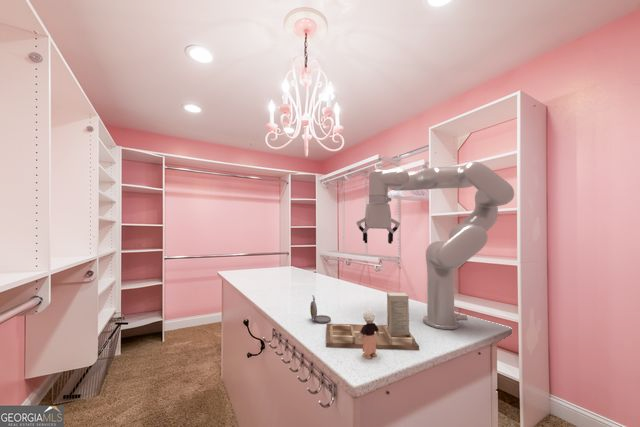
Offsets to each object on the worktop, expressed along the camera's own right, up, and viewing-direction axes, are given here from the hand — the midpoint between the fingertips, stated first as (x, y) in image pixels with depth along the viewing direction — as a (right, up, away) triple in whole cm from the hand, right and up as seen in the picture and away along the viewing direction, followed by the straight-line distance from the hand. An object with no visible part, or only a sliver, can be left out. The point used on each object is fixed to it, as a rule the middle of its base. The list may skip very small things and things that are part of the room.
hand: (377, 243), depth 106 cm
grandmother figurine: (-9, -29, -31) cm, 43 cm away
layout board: (-7, -29, -18) cm, 35 cm away
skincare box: (+2, -26, -21) cm, 34 cm away
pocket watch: (-24, -30, -4) cm, 38 cm away
